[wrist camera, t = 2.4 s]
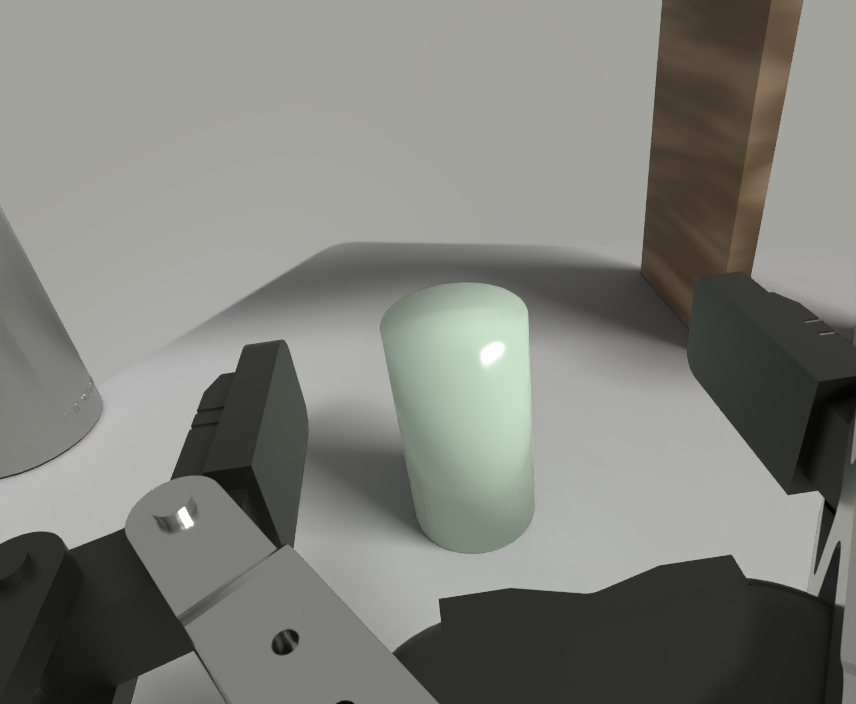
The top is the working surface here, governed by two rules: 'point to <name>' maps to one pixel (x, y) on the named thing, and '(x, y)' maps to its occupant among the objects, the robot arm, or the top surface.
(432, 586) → the top surface
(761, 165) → the overhanging shelf
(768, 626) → the robot arm
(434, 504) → the pillar candle
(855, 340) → the coffee cup
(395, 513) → the top surface
